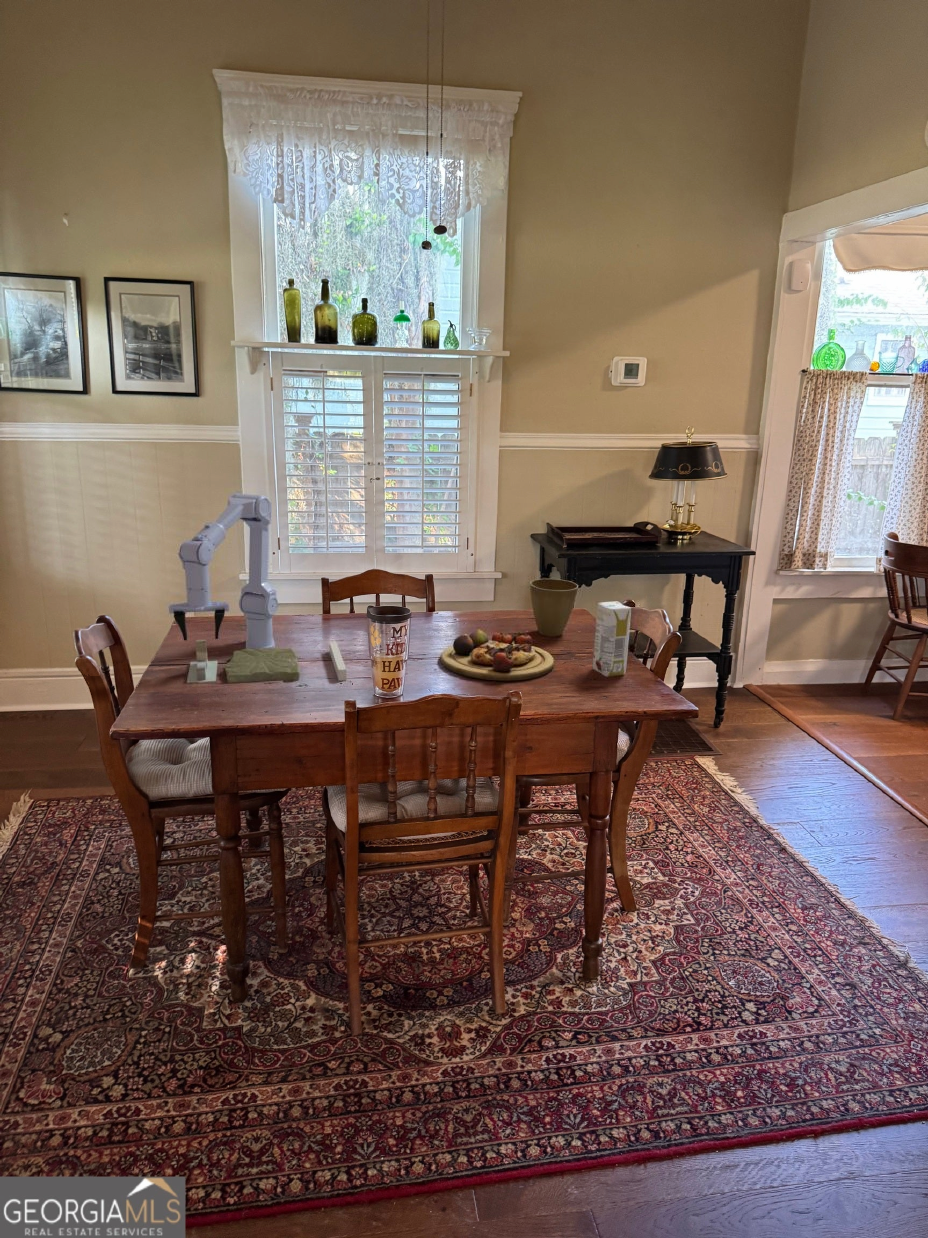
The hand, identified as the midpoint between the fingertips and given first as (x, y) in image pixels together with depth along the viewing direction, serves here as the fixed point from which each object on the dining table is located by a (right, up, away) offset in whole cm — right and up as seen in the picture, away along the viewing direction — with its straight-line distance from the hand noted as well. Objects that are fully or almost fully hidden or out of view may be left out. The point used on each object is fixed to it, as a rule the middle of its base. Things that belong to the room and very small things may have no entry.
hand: (201, 638), depth 210 cm
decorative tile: (+14, -9, +7) cm, 18 cm away
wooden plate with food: (+77, -8, +18) cm, 80 cm away
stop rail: (+33, -8, +11) cm, 36 cm away
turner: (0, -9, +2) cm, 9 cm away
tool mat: (0, -9, +3) cm, 9 cm away
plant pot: (+95, 0, +46) cm, 106 cm away
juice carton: (+108, -10, +13) cm, 109 cm away
